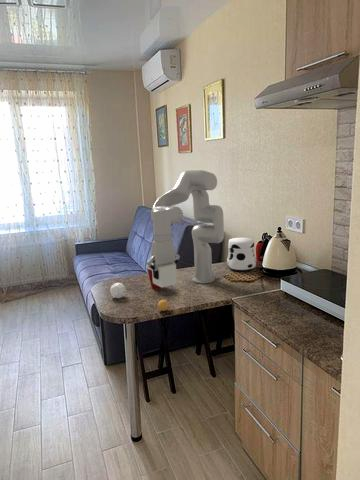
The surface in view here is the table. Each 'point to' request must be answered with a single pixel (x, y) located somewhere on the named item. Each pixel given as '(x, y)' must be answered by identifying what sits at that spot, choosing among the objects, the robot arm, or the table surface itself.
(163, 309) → the ball
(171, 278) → the white angular block
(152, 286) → the plastic cup
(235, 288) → the table surface
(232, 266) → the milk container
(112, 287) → the geometric ball
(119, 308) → the table surface
